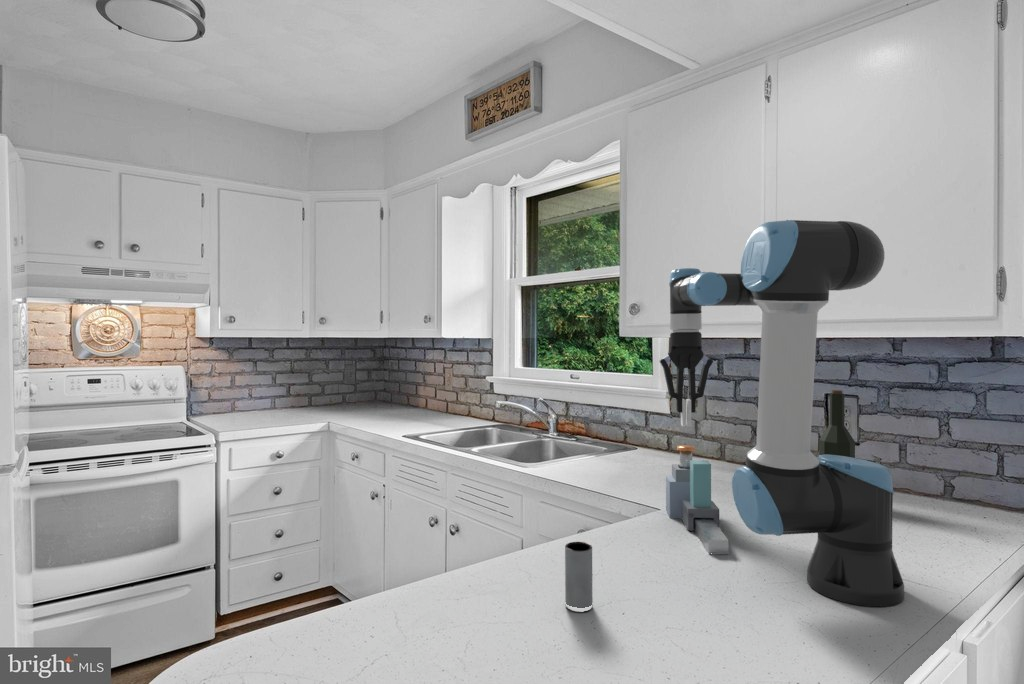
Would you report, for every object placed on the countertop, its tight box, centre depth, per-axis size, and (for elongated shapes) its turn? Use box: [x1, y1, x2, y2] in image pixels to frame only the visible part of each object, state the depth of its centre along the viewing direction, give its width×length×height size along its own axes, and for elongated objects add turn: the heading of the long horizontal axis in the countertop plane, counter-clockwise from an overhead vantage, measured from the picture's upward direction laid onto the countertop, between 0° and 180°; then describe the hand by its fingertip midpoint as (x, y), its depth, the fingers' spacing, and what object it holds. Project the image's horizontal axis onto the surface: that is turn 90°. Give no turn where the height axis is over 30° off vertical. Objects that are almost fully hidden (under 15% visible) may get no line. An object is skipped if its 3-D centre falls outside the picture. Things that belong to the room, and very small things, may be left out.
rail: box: [693, 518, 730, 555], centre depth 137 cm, size 23×4×3 cm, turn 175°
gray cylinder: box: [564, 541, 594, 608], centre depth 102 cm, size 4×4×10 cm
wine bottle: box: [818, 389, 856, 458], centre depth 161 cm, size 8×8×30 cm
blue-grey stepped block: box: [665, 463, 690, 519], centre depth 153 cm, size 6×9×12 cm, turn 85°
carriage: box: [682, 459, 720, 531], centre depth 143 cm, size 7×7×15 cm
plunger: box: [676, 444, 696, 469], centre depth 152 cm, size 4×4×8 cm
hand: (686, 425), depth 152 cm, fingers closed
